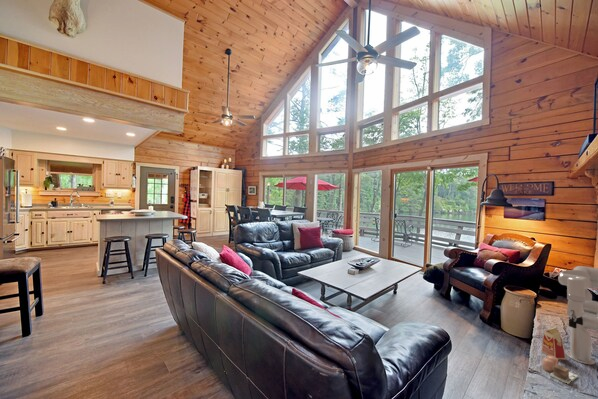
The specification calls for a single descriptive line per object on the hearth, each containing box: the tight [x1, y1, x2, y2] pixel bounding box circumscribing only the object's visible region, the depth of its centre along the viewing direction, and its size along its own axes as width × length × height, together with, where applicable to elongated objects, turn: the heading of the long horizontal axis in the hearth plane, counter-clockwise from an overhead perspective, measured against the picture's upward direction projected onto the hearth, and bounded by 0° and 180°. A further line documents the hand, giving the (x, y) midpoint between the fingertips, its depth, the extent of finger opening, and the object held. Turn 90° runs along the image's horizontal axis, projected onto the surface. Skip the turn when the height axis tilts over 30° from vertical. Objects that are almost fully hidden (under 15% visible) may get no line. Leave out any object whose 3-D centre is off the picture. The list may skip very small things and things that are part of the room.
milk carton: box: [541, 326, 566, 360], centre depth 175 cm, size 9×9×20 cm
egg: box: [542, 357, 554, 373], centre depth 159 cm, size 5×5×6 cm
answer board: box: [549, 371, 579, 385], centre depth 153 cm, size 14×8×1 cm, turn 116°
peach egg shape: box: [546, 355, 559, 366], centre depth 162 cm, size 5×5×6 cm
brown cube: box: [554, 363, 570, 380], centre depth 152 cm, size 5×5×5 cm
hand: (575, 325), depth 155 cm, fingers open, 9 cm apart
